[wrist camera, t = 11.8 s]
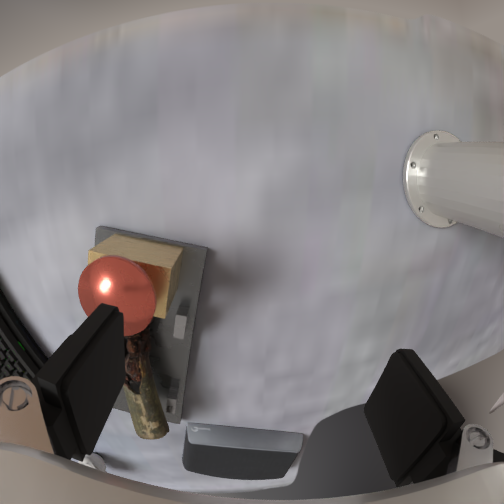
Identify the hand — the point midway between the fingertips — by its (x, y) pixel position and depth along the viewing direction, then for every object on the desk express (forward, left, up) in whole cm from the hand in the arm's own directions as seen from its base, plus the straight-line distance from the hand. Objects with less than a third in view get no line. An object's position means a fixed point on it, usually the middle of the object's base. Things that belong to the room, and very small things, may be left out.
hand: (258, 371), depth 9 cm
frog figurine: (+20, +51, -24) cm, 60 cm away
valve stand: (+10, +17, -24) cm, 31 cm away
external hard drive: (-8, +38, -25) cm, 46 cm away
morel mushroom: (+9, +20, -22) cm, 31 cm away
